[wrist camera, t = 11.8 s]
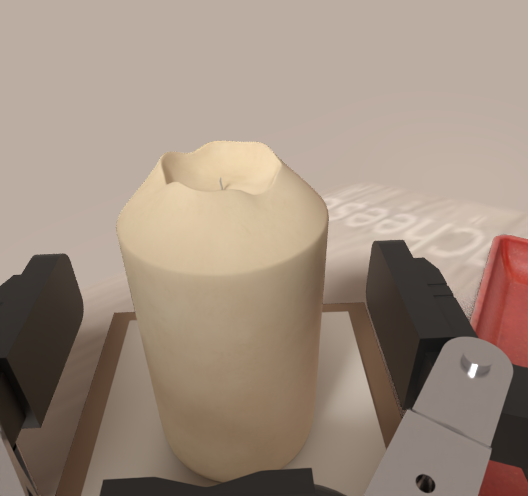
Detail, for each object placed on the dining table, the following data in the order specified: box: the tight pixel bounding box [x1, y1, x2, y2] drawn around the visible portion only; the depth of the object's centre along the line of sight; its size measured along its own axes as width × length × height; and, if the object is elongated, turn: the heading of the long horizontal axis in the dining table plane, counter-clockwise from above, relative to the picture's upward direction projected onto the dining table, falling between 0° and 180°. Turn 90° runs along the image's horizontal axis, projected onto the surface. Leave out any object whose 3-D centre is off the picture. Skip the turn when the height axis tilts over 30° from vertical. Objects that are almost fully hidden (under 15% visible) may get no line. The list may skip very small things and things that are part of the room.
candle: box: [116, 141, 329, 482], centre depth 14 cm, size 6×6×10 cm
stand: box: [55, 303, 402, 496], centre depth 19 cm, size 12×12×4 cm
